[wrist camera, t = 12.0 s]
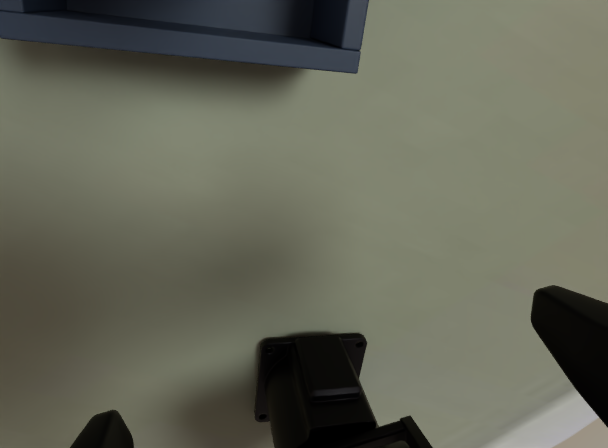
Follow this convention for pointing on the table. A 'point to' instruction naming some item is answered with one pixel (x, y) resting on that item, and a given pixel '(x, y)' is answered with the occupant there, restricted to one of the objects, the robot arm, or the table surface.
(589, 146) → the table surface
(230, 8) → the tub
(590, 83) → the table surface
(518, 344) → the table surface
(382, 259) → the table surface
